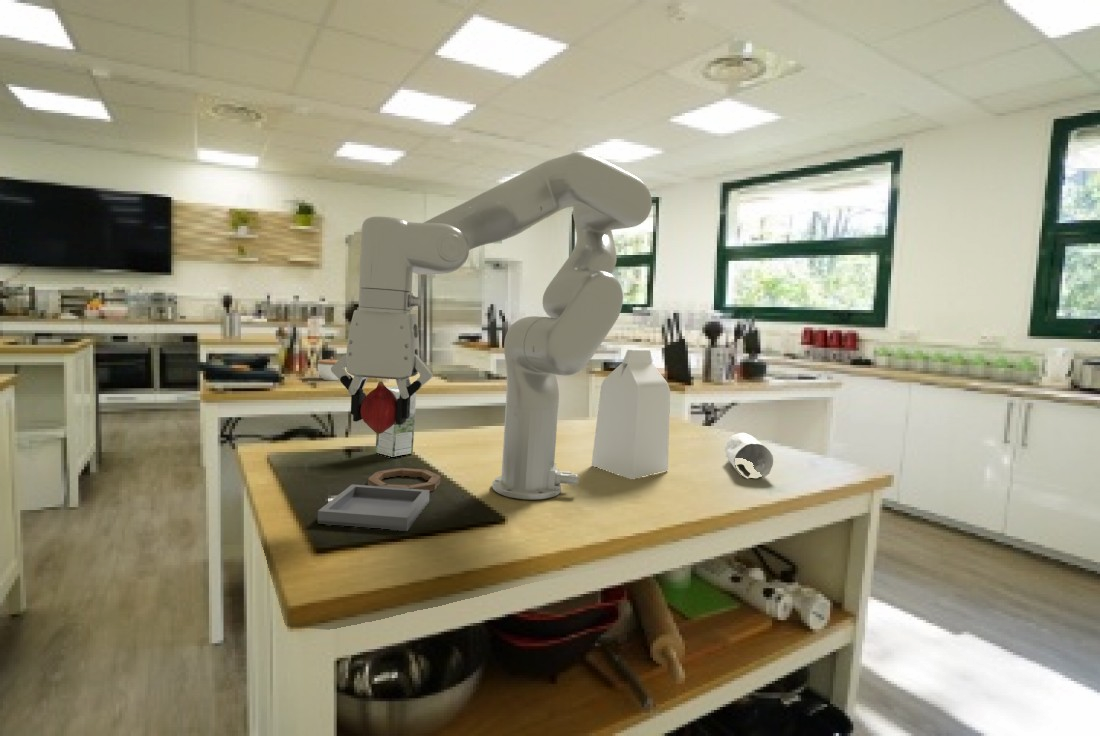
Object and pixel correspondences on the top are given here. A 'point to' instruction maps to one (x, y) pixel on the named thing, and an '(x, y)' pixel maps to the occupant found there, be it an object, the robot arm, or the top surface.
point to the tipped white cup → (749, 452)
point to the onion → (379, 409)
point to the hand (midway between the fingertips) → (380, 420)
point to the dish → (375, 507)
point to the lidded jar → (326, 369)
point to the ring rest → (426, 474)
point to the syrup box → (398, 433)
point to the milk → (633, 419)
